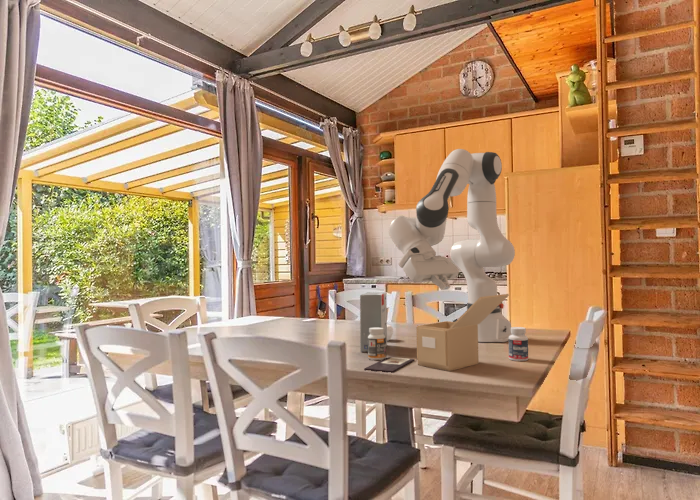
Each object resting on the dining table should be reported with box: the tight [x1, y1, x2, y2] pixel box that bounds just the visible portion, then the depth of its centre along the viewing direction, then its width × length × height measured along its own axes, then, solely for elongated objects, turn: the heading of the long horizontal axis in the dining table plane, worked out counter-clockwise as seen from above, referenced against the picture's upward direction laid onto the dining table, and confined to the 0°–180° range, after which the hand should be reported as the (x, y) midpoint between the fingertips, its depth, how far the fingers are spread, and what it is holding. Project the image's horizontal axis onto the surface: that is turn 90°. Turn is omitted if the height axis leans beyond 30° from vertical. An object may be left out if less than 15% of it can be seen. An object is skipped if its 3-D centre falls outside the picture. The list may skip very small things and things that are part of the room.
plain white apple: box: [387, 324, 394, 342], centre depth 207 cm, size 7×7×8 cm
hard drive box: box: [359, 291, 388, 353], centre depth 190 cm, size 16×8×20 cm, turn 168°
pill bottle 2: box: [508, 326, 529, 362], centre depth 166 cm, size 6×6×10 cm
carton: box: [415, 320, 480, 372], centre depth 161 cm, size 15×12×12 cm
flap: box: [450, 293, 510, 329], centre depth 152 cm, size 14×1×14 cm
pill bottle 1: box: [367, 327, 387, 361], centre depth 171 cm, size 6×6×10 cm
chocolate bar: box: [363, 356, 415, 374], centre depth 161 cm, size 9×1×18 cm
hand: (446, 288), depth 161 cm, fingers closed
